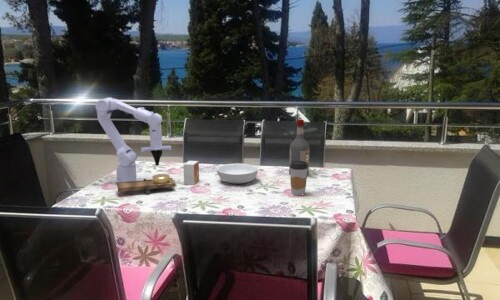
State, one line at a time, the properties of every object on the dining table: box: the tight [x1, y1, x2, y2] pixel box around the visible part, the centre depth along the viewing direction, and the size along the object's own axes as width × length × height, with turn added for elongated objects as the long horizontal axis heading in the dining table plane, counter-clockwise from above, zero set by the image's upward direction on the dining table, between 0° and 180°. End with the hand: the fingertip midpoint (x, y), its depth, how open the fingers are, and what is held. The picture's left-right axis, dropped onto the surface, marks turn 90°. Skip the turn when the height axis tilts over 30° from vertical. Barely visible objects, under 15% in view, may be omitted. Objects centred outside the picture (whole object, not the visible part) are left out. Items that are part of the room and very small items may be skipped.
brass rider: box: [152, 173, 171, 185], centre depth 206 cm, size 8×8×3 cm
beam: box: [116, 177, 176, 192], centre depth 204 cm, size 26×10×2 cm, turn 110°
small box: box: [183, 160, 200, 186], centre depth 217 cm, size 8×6×10 cm
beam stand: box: [143, 178, 151, 196], centre depth 204 cm, size 2×12×4 cm, turn 20°
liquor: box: [288, 119, 311, 175], centre depth 229 cm, size 9×9×30 cm
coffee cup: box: [289, 161, 308, 196], centre depth 199 cm, size 8×8×15 cm
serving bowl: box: [216, 162, 259, 185], centre depth 220 cm, size 21×21×7 cm
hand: (157, 165), depth 216 cm, fingers closed
